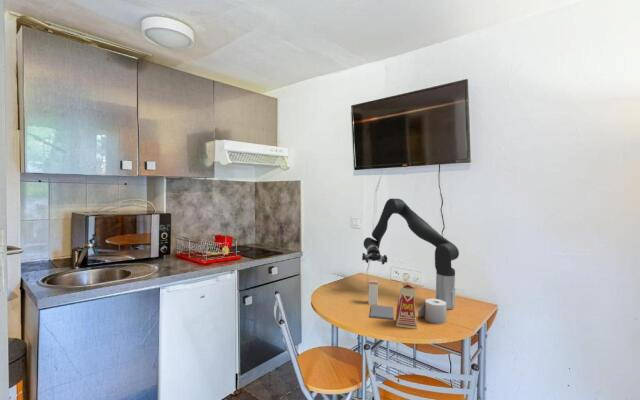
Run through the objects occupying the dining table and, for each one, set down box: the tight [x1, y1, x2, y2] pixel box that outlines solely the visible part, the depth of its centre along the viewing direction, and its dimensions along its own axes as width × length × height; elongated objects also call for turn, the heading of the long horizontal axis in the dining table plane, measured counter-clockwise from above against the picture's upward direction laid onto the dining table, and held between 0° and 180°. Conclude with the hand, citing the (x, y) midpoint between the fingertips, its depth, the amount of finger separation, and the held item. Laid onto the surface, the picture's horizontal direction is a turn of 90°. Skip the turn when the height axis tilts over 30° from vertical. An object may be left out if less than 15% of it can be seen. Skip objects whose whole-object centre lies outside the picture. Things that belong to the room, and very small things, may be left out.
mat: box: [369, 304, 395, 321], centre depth 160 cm, size 15×11×1 cm
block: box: [368, 279, 379, 306], centre depth 173 cm, size 4×4×12 cm
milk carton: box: [395, 280, 418, 330], centre depth 147 cm, size 9×9×20 cm
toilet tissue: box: [417, 298, 447, 325], centre depth 152 cm, size 9×13×9 cm
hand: (375, 262), depth 179 cm, fingers open, 8 cm apart
